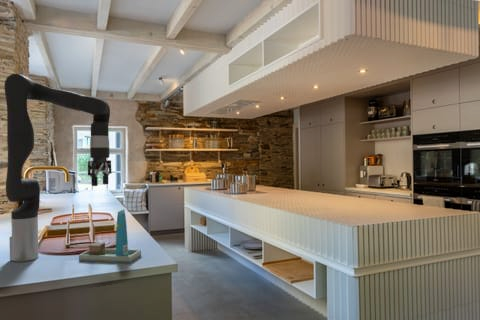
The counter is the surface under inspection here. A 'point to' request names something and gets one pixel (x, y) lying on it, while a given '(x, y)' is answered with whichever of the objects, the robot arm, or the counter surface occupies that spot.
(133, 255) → the tray
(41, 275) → the counter surface
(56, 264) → the counter surface
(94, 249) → the walnut block
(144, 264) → the counter surface
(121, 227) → the tube
